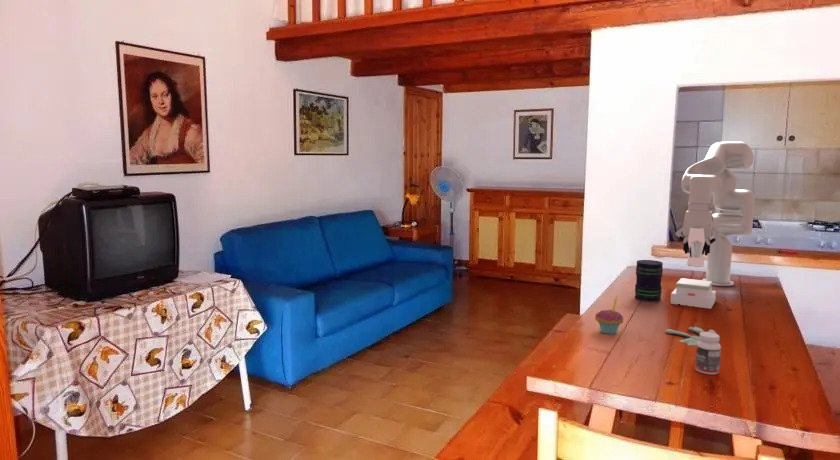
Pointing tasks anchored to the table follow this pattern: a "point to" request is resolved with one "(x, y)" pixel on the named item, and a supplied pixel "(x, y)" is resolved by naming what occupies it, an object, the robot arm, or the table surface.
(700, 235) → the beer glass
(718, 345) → the pill bottle
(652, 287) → the storage jar
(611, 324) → the cupcake
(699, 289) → the step stand
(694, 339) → the green flat branched shape
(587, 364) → the table surface
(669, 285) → the table surface
